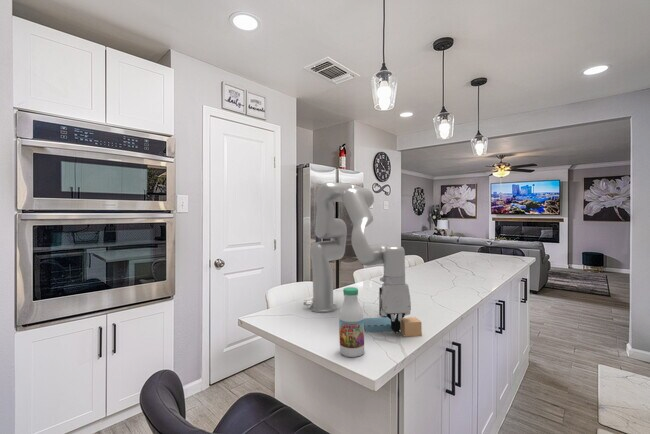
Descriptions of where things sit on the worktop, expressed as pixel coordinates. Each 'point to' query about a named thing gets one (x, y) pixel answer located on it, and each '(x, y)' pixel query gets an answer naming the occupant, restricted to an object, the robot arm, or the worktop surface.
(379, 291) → the box
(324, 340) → the worktop surface
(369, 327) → the blue flat block
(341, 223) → the robot arm
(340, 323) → the milk bottle
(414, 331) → the tan block
